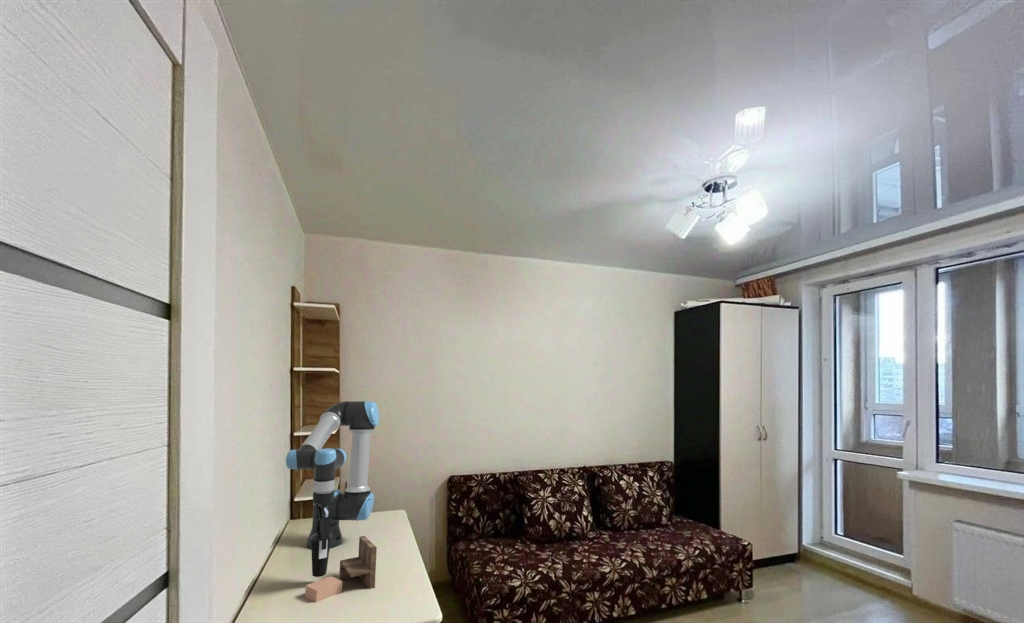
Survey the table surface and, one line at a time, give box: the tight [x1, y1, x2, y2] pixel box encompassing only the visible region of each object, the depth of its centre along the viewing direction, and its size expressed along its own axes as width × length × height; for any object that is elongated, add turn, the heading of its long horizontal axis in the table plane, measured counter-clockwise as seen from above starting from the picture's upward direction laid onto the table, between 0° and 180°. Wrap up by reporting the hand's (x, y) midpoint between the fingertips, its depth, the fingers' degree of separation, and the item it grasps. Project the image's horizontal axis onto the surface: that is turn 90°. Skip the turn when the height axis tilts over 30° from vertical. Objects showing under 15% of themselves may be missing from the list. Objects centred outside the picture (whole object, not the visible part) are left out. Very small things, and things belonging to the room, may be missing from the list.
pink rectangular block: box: [304, 575, 343, 603], centre depth 170 cm, size 7×10×4 cm
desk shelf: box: [338, 535, 378, 589], centre depth 180 cm, size 15×9×14 cm, turn 34°
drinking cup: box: [310, 532, 332, 578], centre depth 179 cm, size 8×8×20 cm
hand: (320, 554), depth 179 cm, fingers closed on drinking cup, 7 cm apart
